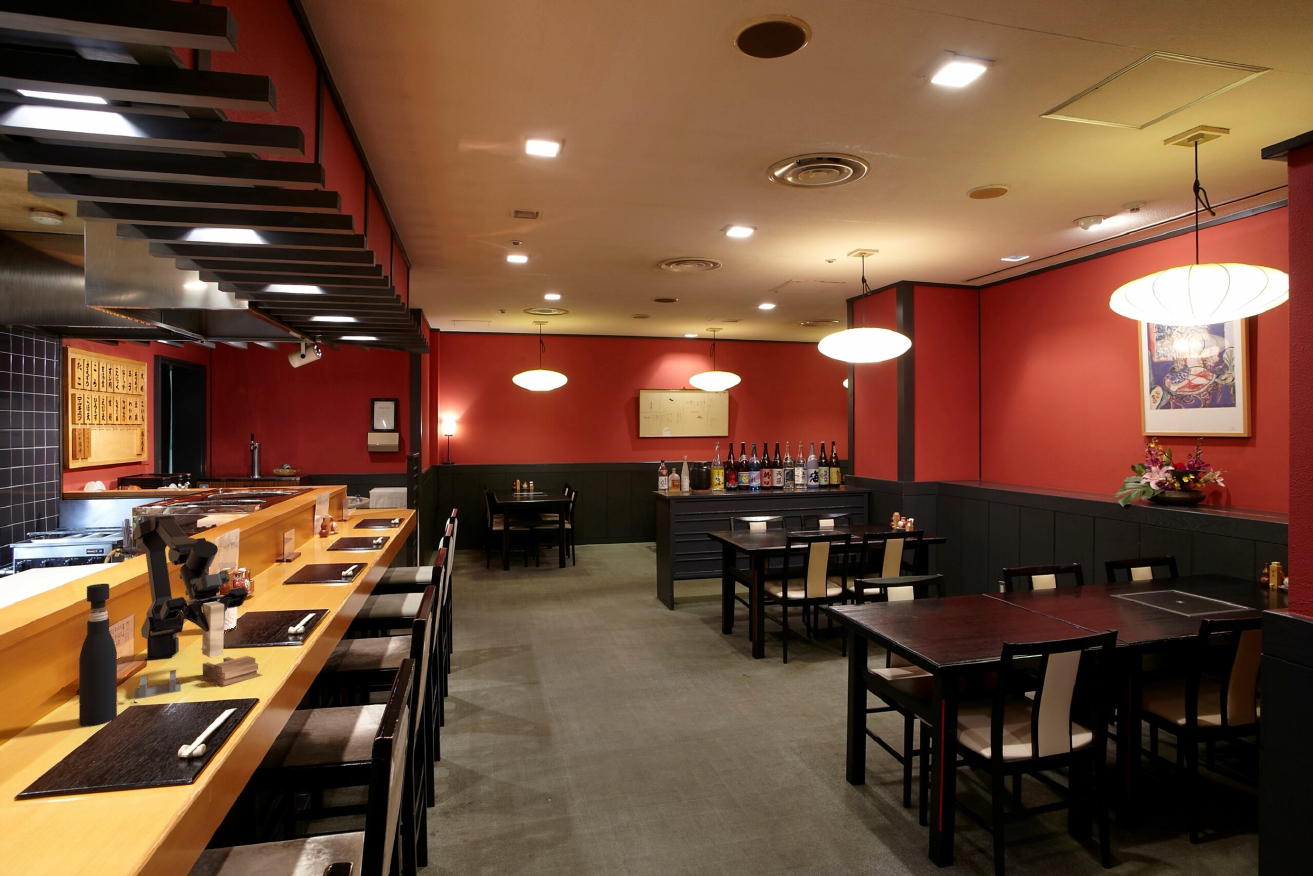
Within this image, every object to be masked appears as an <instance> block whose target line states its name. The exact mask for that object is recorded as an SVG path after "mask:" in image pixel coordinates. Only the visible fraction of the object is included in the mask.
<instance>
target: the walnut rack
mask: <svg viewBox="0 0 1313 876" xmlns="http://www.w3.org/2000/svg"><path fill="white" fill-rule="evenodd" d="M233 659H234V658H232V657H230V656H227V657H223V662H225V661H229V660H233ZM216 676H217V671H214V663H211V662H204V663H202V675H199V676H195V677H194V679H197V680H200V681H203V682H205V683H208V684H210V685H214V686H216V687H219V688H224V687H228V686H232V685H234V684H238V683H241V682H246V681H249V680H251V679H255V678H258V677H262V676H263V674H261V673H258V672H257V676H254V677H250V678H247V679H243V680H240V681H237V682H233V683H230V684H226V685H221V684H219V683H216Z"/></svg>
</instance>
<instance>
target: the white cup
mask: <svg viewBox="0 0 1313 876" xmlns="http://www.w3.org/2000/svg"><path fill="white" fill-rule="evenodd" d="M238 608H239V607H234V608H227V610H226V611H225V619H224V630H227V629H231V628H234V627H235V626H236V627H237V620H238Z"/></svg>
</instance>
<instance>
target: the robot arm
mask: <svg viewBox="0 0 1313 876" xmlns="http://www.w3.org/2000/svg"><path fill="white" fill-rule="evenodd" d="M133 537H134V540H136V544H137V547H138V548H139V549H140V551H141V550H142V552H143V553H145V559H146V565H147V573H148V580H149V581H148V582H149V589H150V597H151V604H150V606H149V608H148V610H147V611H146V617H145V619H144V621H143V624H142V627H141V629H140V633H141V637H142V638H144V639H146V645H147V646H146V647H147V648H146V649H147V650H146V653H147V656H146V657H145V658H144V660H145V659H147V660H146V661H149V660H159V659H160V660H161V659H170V658H173V657H174V656H175V655H177V653H178V652H179V651H180V640H179V639H180V638H179V637H178V636H177V634H178V633H182V632H183V629H184V623H185V620H186V621H187V620H188V621H189V622H191V623H192V624H195V625H196V626H197V627H199V628H200V629H202V631H203V630H204V631H206V632H208V631H209V627H208V623H207V621H206V619H205V617H204V614H203V604H204V603H210V602H219V603H222V604H224V619H225V611H226V610H227V608H234V607H238V608H239V607H241V606H243V604H244V602H245V600H246V598H247V597H248V595H249V592H248V590H247V588H246V587H244V586H240V587H239V586H238V587H232V588H228V589H227V592H226V593H225V594H221V595H217V594H219V593H220V591H221V589H220V587H223V586H224V585H226V584H228V582H230V580H231V579H230V575H229V573H228V570H220V571H219V572H218V573H213V574H209V571H208V569H209V568H211V566H212V564H213V562H214V560H215V558H216V556H217V553H218V551H219V548H218V547H219V546H217V545H216V544H215V543H214V542H211V541H210V540H209V541H208V540H206V537H201V538H195V537H189V536H187V534H186V533H185V532H184V530H182V528H181V527H180V526H179V524H178V523H177V522H176V517H175V516H174V515H171V514H170V515H169V514H167V515H157V516H154V517H151V518H150V519H148V520H145V521H142V522H139V523H138V524H137V525H136V526H135V527H134V528H133ZM167 547H168V549H169V550H168V554H166V548H167ZM167 556H168V560H169V562H170V563H171V564H172V565H174V566H180V565H181V567H180V569H179V573H180V574H179V579H180V580H182V583H183V584H184V587H185V591H184V594H185V596H188V599H185V597H183V596H179V597H174V598H173V597H172V590H171V581H170V576H169V575H170V574H169V568H168V560H167Z"/></svg>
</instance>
